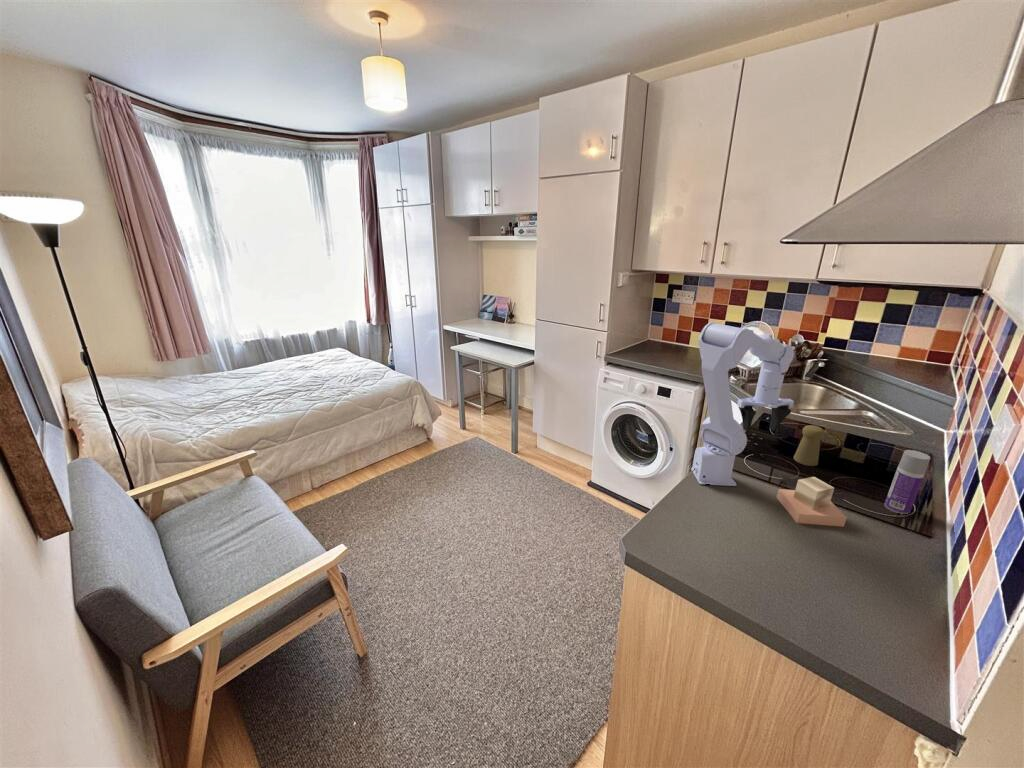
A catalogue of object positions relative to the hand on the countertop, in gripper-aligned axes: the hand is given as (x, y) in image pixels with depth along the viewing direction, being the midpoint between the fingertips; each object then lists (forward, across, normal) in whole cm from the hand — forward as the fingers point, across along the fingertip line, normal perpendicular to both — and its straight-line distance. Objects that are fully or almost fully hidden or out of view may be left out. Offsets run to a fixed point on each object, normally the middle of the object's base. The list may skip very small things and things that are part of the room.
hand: (759, 429), depth 117 cm
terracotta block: (+11, +1, -23) cm, 26 cm away
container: (+11, +23, -22) cm, 34 cm away
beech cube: (+8, +1, -23) cm, 24 cm away
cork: (+11, +16, 0) cm, 19 cm away
